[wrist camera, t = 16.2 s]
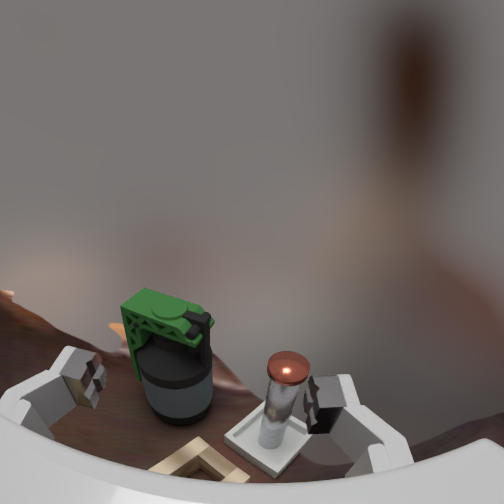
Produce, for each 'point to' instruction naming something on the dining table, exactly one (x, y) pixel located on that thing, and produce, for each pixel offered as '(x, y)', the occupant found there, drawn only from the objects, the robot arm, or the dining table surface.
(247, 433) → the tray
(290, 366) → the pin
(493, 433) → the dining table surface
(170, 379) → the grenade
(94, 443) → the dining table surface
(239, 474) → the block
